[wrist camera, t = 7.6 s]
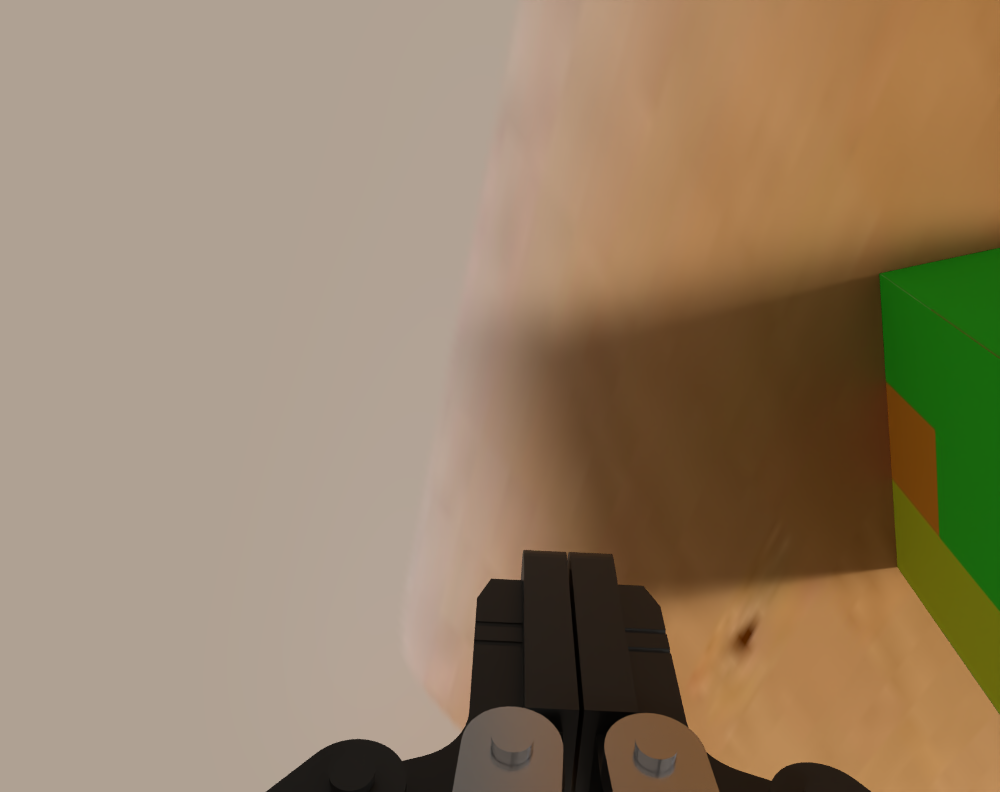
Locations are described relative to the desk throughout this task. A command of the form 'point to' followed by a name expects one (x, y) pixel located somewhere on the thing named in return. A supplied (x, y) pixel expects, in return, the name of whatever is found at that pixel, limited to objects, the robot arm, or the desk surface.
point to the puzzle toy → (948, 446)
